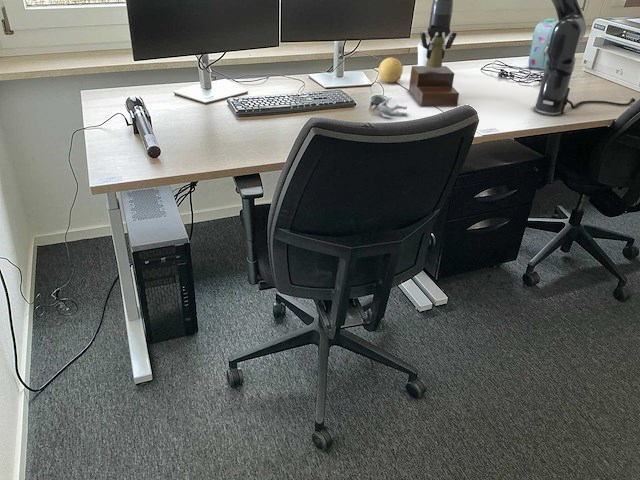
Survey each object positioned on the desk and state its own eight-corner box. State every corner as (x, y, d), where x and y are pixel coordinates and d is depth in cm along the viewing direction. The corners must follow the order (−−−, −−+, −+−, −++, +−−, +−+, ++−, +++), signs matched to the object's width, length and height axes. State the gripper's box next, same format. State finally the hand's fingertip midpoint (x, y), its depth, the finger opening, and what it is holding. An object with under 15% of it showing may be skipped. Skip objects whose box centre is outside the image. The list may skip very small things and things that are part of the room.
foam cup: (420, 71, 242) (424, 41, 235) (439, 75, 238) (444, 44, 231) (410, 75, 236) (414, 44, 229) (429, 80, 231) (434, 48, 224)
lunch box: (546, 73, 246) (559, 24, 234) (523, 69, 250) (535, 20, 238) (560, 61, 265) (572, 15, 253) (538, 58, 269) (550, 12, 257)
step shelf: (456, 106, 204) (461, 79, 199) (420, 106, 202) (424, 79, 197) (442, 91, 219) (446, 66, 213) (408, 91, 217) (411, 66, 212)
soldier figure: (407, 121, 191) (377, 112, 187) (399, 126, 196) (370, 118, 191) (408, 101, 193) (378, 92, 189) (400, 107, 198) (371, 98, 193)
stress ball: (390, 86, 221) (392, 62, 216) (372, 81, 227) (374, 56, 222) (406, 82, 227) (409, 58, 221) (388, 77, 233) (391, 53, 227)
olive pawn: (444, 65, 209) (448, 35, 203) (438, 68, 204) (442, 38, 198) (429, 62, 211) (433, 33, 205) (423, 65, 207) (427, 35, 201)
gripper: (456, 10, 201) (449, 57, 210) (419, 9, 199) (413, 57, 209) (463, 14, 195) (455, 62, 204) (425, 13, 193) (419, 62, 203)
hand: (434, 59), depth 206 cm, fingers closed on olive pawn, 3 cm apart
